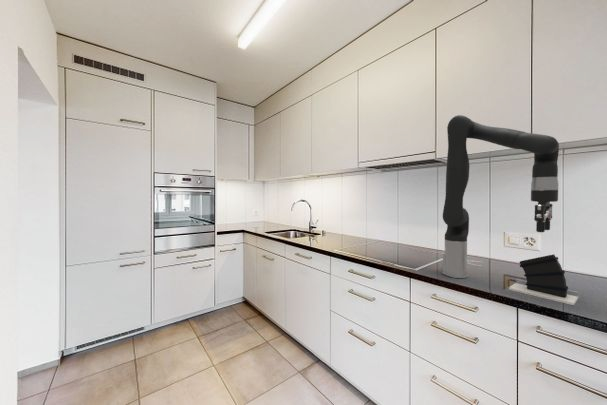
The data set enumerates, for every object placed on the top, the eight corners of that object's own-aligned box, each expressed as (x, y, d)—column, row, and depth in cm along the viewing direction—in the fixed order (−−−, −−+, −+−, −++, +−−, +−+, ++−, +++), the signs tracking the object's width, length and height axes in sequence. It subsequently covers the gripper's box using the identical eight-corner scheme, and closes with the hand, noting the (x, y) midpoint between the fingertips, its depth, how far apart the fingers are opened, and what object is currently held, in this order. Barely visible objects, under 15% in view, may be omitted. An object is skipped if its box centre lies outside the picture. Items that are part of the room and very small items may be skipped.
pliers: (480, 264, 133) (449, 259, 143) (480, 267, 133) (449, 262, 143) (484, 260, 140) (454, 256, 150) (484, 263, 140) (454, 258, 150)
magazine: (578, 296, 87) (553, 255, 92) (533, 301, 97) (512, 263, 102) (580, 294, 89) (555, 253, 94) (535, 298, 99) (515, 261, 104)
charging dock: (508, 289, 100) (508, 284, 100) (516, 284, 106) (516, 278, 106) (573, 305, 86) (573, 298, 86) (578, 298, 92) (578, 292, 92)
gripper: (536, 189, 102) (535, 228, 102) (526, 189, 94) (525, 231, 94) (562, 189, 96) (560, 230, 96) (553, 188, 88) (552, 234, 88)
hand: (543, 231), depth 95 cm, fingers open, 8 cm apart
